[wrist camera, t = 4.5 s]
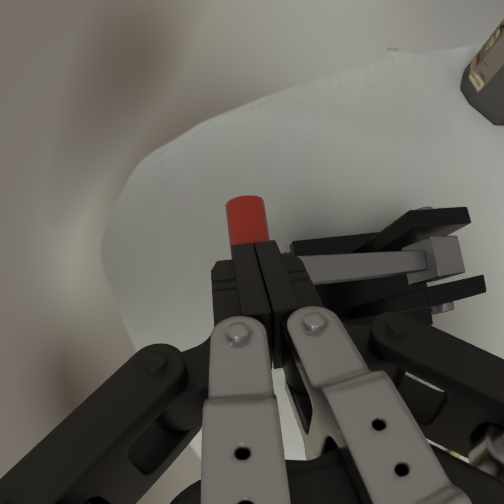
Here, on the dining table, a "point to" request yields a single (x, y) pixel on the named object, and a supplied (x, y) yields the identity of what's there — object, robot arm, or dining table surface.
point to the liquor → (487, 78)
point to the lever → (357, 264)
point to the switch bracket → (394, 287)
